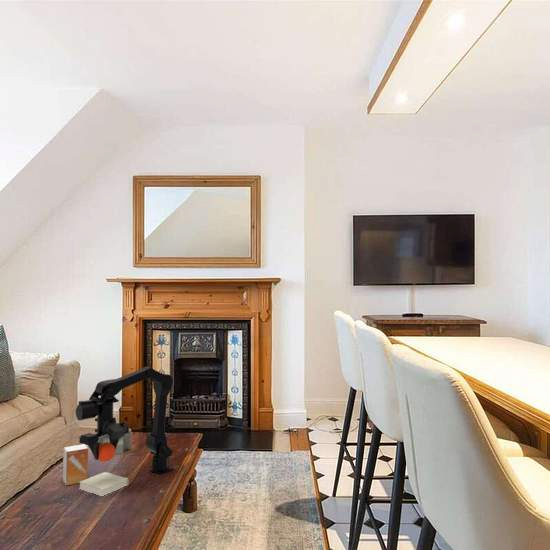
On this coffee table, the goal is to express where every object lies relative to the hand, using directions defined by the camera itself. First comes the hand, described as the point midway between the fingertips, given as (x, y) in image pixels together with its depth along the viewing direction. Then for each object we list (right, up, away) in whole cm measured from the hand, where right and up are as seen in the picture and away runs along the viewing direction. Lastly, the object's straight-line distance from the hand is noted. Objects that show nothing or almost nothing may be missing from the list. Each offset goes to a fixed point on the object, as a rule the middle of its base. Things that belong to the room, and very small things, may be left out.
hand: (104, 456), depth 183 cm
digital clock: (-10, -13, +40) cm, 43 cm away
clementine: (0, -2, -1) cm, 2 cm away
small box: (-13, -12, +6) cm, 19 cm away
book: (0, -12, 0) cm, 12 cm away
